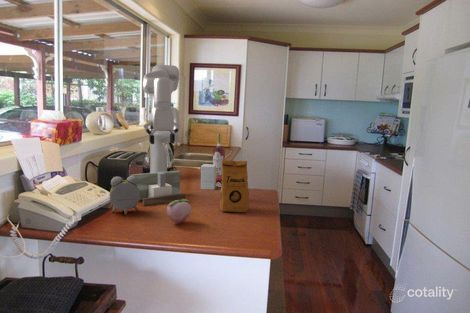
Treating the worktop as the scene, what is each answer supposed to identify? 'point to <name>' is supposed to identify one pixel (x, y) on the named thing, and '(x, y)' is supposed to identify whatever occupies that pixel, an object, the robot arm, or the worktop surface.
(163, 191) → the white block gray post
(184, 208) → the decorative fruit
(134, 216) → the worktop surface
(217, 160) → the liquor
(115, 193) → the alarm clock
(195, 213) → the worktop surface
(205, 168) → the supplement box
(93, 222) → the worktop surface
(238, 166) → the coffee package
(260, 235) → the worktop surface
